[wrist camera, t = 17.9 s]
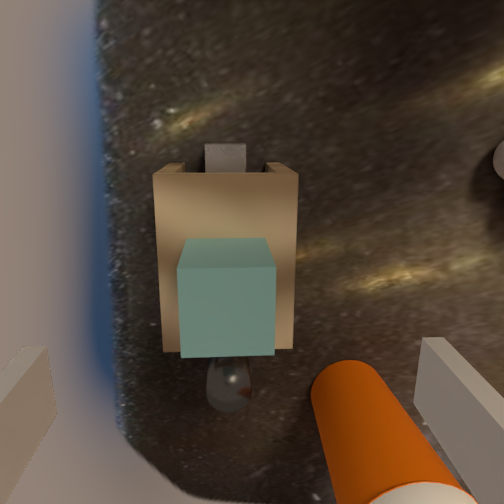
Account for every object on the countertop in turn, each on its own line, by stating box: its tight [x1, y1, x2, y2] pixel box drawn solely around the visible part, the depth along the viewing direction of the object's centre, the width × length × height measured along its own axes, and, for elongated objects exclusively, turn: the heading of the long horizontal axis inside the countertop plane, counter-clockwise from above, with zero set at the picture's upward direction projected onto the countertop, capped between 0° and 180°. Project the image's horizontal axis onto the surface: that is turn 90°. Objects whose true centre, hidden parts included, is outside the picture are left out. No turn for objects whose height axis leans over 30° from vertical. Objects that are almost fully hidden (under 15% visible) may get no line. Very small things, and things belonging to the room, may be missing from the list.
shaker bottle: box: [311, 360, 478, 504], centre depth 32 cm, size 9×9×20 cm
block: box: [177, 238, 276, 358], centre depth 25 cm, size 5×5×6 cm
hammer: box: [205, 143, 252, 412], centre depth 32 cm, size 18×3×9 cm, turn 0°
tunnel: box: [153, 163, 299, 352], centre depth 32 cm, size 12×9×9 cm
